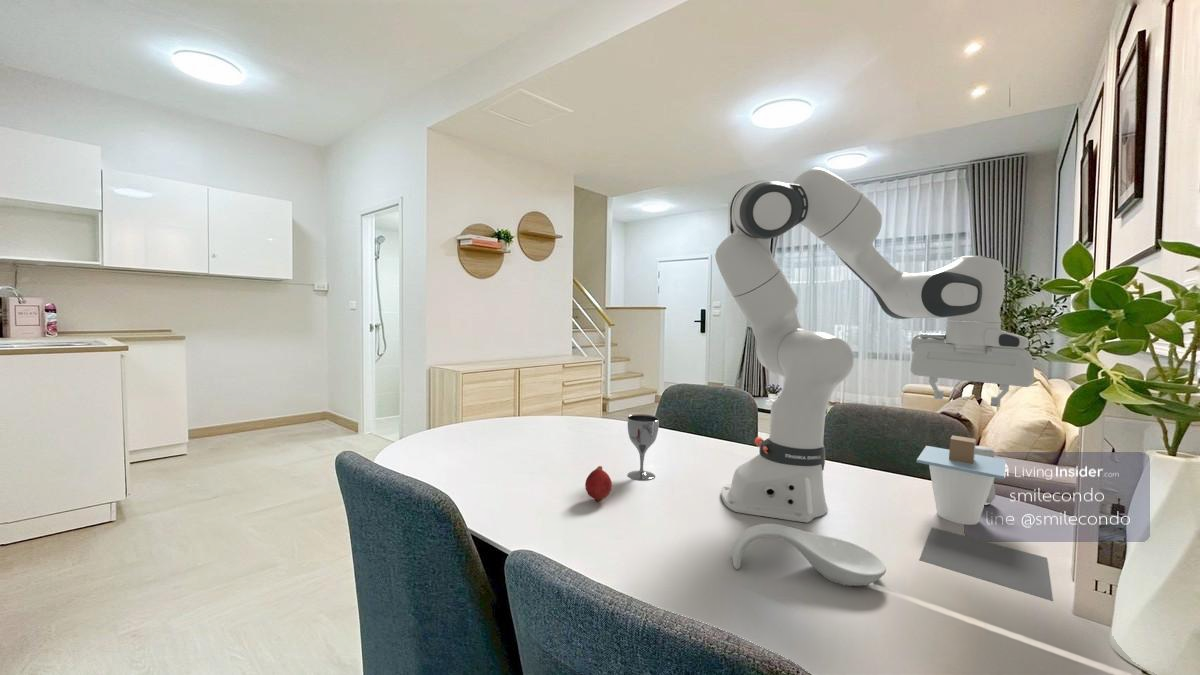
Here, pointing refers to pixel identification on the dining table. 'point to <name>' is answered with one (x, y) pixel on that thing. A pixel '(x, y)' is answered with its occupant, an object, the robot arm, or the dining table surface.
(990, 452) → the salt shaker
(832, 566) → the spoon rest
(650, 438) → the wine glass
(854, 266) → the robot arm
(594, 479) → the onion
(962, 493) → the cup
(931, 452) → the cover sheet
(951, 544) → the sheet mat
